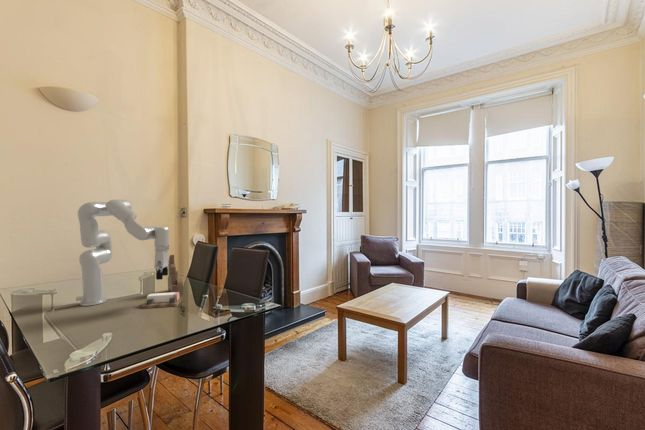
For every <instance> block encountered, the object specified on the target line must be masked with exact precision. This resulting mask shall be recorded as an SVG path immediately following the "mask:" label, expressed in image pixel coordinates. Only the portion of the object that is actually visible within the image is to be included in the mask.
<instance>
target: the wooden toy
mask: <svg viewBox="0 0 645 430" xmlns="http://www.w3.org/2000/svg"><path fill="white" fill-rule="evenodd" d="M167 276H168V277H167V291H168V293H171V292H179V293H180V295H182V294H184V282H183V278H182V277H180V278H179V271H178V270H177V267H176V264H175V254H170V255H169V256H168V275H167Z"/></svg>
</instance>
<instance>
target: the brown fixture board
mask: <svg viewBox="0 0 645 430" xmlns="http://www.w3.org/2000/svg"><path fill="white" fill-rule="evenodd" d="M180 295H181V294H180V293H179V300H178V301H176V297H174V298H169V302H157V303H153V299H147V298H146V302H145V303H144V304H142V306H141V308H142V310H143V309H155V308H167V307H169V308H170V307H178V305H179V304H181V302H182V301H183V300H184V296H182V295H181V296H180Z"/></svg>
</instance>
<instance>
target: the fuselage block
mask: <svg viewBox="0 0 645 430" xmlns="http://www.w3.org/2000/svg"><path fill="white" fill-rule="evenodd" d="M174 297H176V301H178V300H179V292H157V293H149V294H147V295H146V300H147V299H153V303H157V302H169V298H174Z"/></svg>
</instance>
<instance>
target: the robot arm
mask: <svg viewBox="0 0 645 430" xmlns="http://www.w3.org/2000/svg"><path fill="white" fill-rule="evenodd" d="M110 216H113V217H114V218H116V219H117V220H118V221H120V222H121V223H122V224H124V228H125V230H126V232H127V233H128V234H129V235H131V236H132V237H134V238H135V239H137V240H139V241H149V240H154V252H155V253H154V269H155V280H157V281H158V280H163V277H165V276H166V277H167V276H169V270H168V264H169V263H168V261H169V251H170V229H169V227H167V226H154V225H149V226H142V225H141V224H140V223H138V222H137V221H136V219H137V216H138V215H137V213H136V212H135V211H133V209H132V204H131V203H130V201H128V200H125V199H111V200H108V201H90V202H86V203H83V204H82V205H81V206H79V208H78V210H77V217H78V222H79V223H78V224H79V232H80V233H79V234H80V242H81V245H82V246H83V247H84V248H93V249H88V250H85V251H83V252H82V253H81V254H80V255H79V259H78V260H79V264H80V268H81V274H82V275H81V276H82V278H81V279H82V296H76V297H75V301H77V302H79V301H80V303H79V305H80V306H83V307H87V306H97V305H99V304H103V303H105V302H107V298H106V297H104V282H103V281H104V280H103V271H102V268H101V266H100V265H101V264H105V263H106V264H107V263H108V262H110V261H111V259H112V257H113V249H112V240H111V239H112V238H111V235H110V234H109V232H108V231H106V230H101V229H99V224H98V221H97V219H96V218H95V217H110Z"/></svg>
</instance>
